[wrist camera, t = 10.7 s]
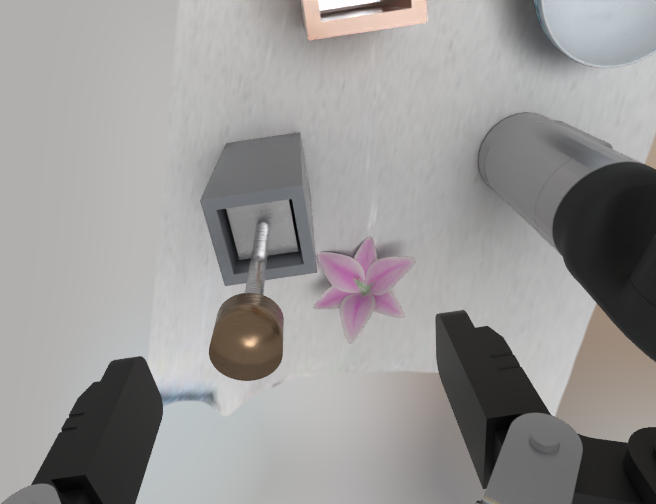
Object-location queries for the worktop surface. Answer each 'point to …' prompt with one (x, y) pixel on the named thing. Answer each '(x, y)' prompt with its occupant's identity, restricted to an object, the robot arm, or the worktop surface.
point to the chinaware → (600, 29)
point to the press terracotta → (360, 17)
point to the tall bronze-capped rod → (253, 295)
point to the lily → (361, 286)
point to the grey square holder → (255, 188)
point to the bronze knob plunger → (341, 3)
